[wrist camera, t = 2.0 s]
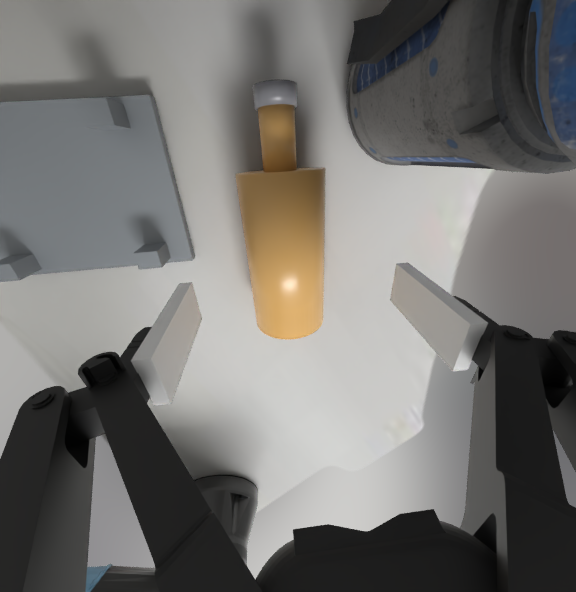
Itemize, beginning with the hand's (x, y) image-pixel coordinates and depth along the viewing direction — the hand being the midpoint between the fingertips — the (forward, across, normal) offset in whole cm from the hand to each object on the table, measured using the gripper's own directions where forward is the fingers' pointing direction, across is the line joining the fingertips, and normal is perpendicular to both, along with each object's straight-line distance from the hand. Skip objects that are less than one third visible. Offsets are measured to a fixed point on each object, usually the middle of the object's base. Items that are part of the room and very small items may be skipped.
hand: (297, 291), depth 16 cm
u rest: (+11, +18, -6) cm, 22 cm away
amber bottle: (+11, 0, -2) cm, 11 cm away
